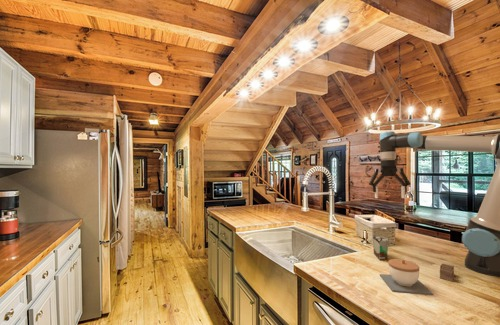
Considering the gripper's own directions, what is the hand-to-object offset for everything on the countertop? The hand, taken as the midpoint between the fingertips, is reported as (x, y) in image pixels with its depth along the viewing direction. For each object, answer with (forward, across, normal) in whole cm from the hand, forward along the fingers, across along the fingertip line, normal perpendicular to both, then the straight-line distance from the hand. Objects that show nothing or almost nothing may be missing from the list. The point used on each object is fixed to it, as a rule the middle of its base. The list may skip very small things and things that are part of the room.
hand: (389, 198), depth 129 cm
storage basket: (+31, 0, -28) cm, 42 cm away
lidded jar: (+31, +8, +33) cm, 46 cm away
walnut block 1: (+32, -14, +21) cm, 41 cm away
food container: (+31, +6, +4) cm, 32 cm away
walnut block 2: (+32, -12, +25) cm, 42 cm away
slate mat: (+31, +8, +34) cm, 47 cm away
